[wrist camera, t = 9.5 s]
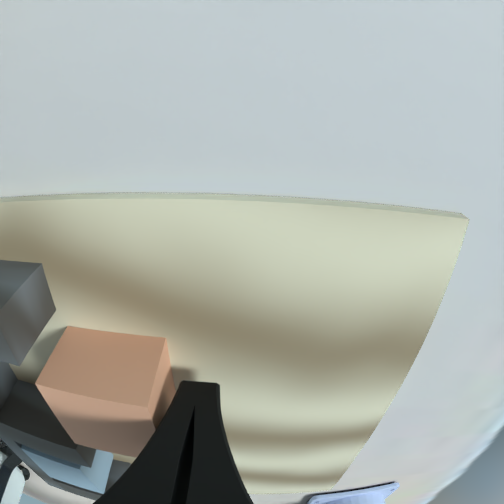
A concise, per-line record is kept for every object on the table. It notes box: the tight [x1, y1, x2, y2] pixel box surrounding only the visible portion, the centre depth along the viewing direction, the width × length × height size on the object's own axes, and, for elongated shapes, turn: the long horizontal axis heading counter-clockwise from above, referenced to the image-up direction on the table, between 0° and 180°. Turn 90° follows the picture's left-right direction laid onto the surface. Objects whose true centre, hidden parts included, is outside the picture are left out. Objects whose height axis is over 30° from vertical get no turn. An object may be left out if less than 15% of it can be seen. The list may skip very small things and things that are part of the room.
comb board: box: [0, 193, 469, 500], centre depth 12 cm, size 22×22×4 cm
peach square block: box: [35, 326, 176, 458], centre depth 10 cm, size 4×4×3 cm
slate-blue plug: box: [21, 445, 113, 494], centre depth 14 cm, size 4×4×3 cm
